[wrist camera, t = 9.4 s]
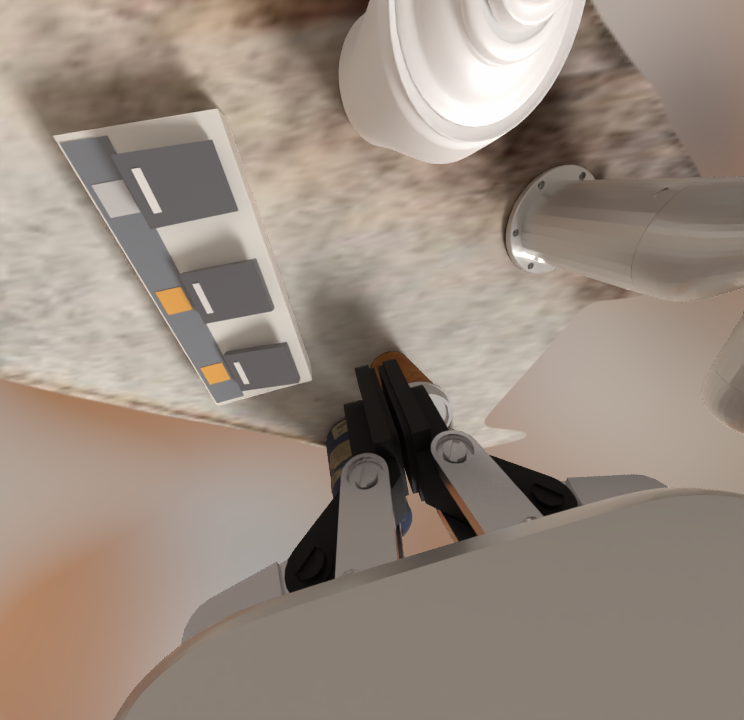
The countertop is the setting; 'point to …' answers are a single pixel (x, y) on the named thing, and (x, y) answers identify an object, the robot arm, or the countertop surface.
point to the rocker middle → (228, 291)
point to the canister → (340, 456)
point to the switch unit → (189, 244)
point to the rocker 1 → (177, 183)
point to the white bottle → (451, 70)
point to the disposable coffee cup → (418, 382)
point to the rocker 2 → (262, 366)
